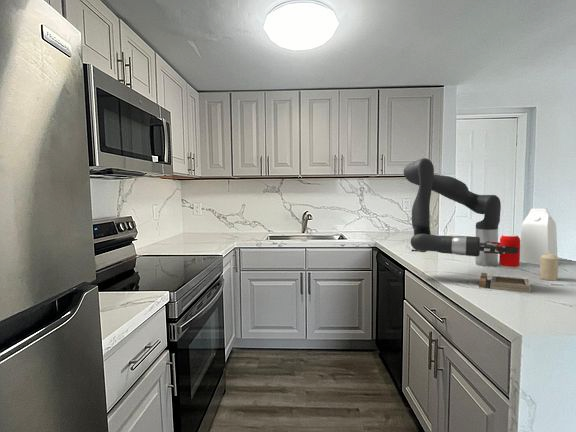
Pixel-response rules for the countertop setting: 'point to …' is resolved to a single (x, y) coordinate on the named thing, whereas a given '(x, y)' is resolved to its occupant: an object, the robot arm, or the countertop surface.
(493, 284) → the tray
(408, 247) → the hinge
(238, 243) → the countertop surface
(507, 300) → the countertop surface
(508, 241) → the beverage can
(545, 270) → the candle
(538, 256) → the milk
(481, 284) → the sill
